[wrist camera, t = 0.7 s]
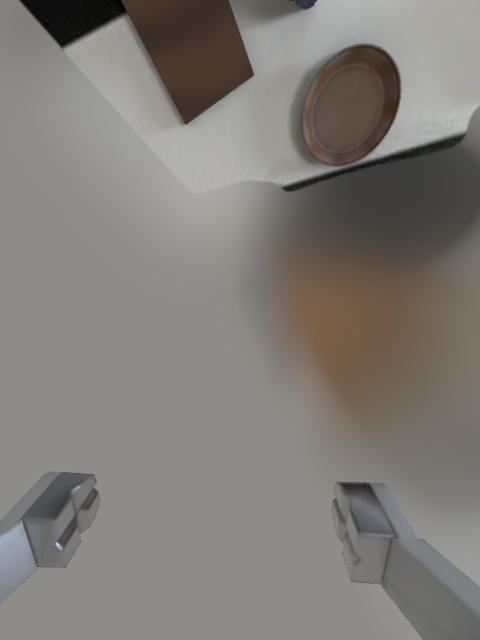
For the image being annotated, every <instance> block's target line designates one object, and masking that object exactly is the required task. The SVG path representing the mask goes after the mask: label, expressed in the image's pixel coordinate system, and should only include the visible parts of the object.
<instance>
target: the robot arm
mask: <svg viewBox="0 0 480 640" xmlns="http://www.w3.org/2000/svg"><path fill="white" fill-rule="evenodd" d="M95 484H96V478H95V475H94V474H83V473H68V472H48V473H46V474H44V475H43V476H42V477H41V478H40V479H39V480H38V481H37V482H36V483H35V485H34V486H33V487H32V488H31V489H30V490H29V491H28V492H27V493H26V494H25V495H24V496H23V497H22V498H21V500H20V501H19V502H18V503H17V504H16V505H15V506H14V507H13V508H12V509H11V510H10V511H9V513H7V515H6V516H5V517H4V518H3V519H2V520H1V521H0V603H2V602H3V601H4V600H5V599H6V598H7V597H8V596H9V595H10V594H11V593H12V592H13V591H15V589H16V588H18V587H19V586H20V585H21V584H22V583H23V582H24V581H25V580H26V579H28V578H29V577H30V576H31V575H32V574H33V573H34V572H35V571H36V570H37V569H38V568H37V567H65V568H66V567H67V565H68V563H69V562H70V560H71V558H72V557H73V555H74V553H75V551H76V550H77V548H78V546H79V545H80V543H81V533H82V532H84V531H85V530H86V529H87V528H89V527H90V526H91V524H92V522H93V520H94V519H95V517H96V514H97V511H98V508H99V502H100V497H99V492H98V491H97V490H96V489H94V485H95ZM334 492H335V495H336V498H335V499H334V500H333V501H332V516H333V523H334V527H335V531H336V535H337V537H338V538H339V539H340V541H341V542H342V543H343V544H344V545H343V552H342V555H343V558H344V561H345V565H346V568H347V571H348V574H349V578H350V581H351V582H358V583H370V584H382V587H383V589H384V590H385V591H386V592H387V594H388V595H389V596H390V598H391V599H392V600H393V602H394V603H395V604H396V605H397V607H398V608H399V609H400V611H401V612H402V613H403V614H404V616H405V617H406V618H407V620H408V621H409V622H410V623H411V625H412V626H413V627H414V629H415V630H416V631H417V632H418V634H419V635H420V636H421V637H422V639H423V640H480V587H479V586H478V585H477V584H476V583H475V582H473V581H472V580H471V579H470V578H469V577H467V576H466V575H465V574H464V573H463V572H461V571H460V570H459V569H458V568H457V567H456V566H454V565H453V564H452V563H451V562H450V561H448V560H447V559H446V558H445V557H444V556H443V555H441V554H440V553H439V552H438V551H437V550H436V549H434V548H433V547H432V546H431V545H430V544H428V543H427V542H426V541H425V540H424V539H418V538H417V536H416V535H415V533H414V531H413V530H412V528H411V526H410V525H409V523H408V521H407V519H406V518H405V516H404V514H403V512H402V511H401V509H400V507H399V506H398V504H397V502H396V501H395V499H394V497H393V495H392V494H391V492H390V490H389V489H388V487H387V486H386V485H385V484H384V483H366V482H336V483H335V487H334Z"/></svg>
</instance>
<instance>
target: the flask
mask: <svg viewBox="0 0 480 640" xmlns="http://www.w3.org/2000/svg"><path fill="white" fill-rule="evenodd" d="M289 1H295V2H296V3H297V5H299V6H300V7H301V8H304V9H305V10H306V9H309V8H311V7H312V6H314V3H315V2H316V1H317V0H289Z"/></svg>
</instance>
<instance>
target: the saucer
mask: <svg viewBox="0 0 480 640" xmlns="http://www.w3.org/2000/svg"><path fill="white" fill-rule="evenodd" d="M400 100H401V77H400V73H399V69H398V67H397V64H396V62H395V61H394V59H393V58H392V56H391V55H390V54H389V53H388V52H387V51H386V50H384V49H383V48H381V47H379V46H376V45H373V44H357V45H352V46H350V47H347V48H345V49H343V50H341V51H340V52H338V53H337V54H335V55H334V56H333V57H332V58H330V59H329V60H328V61H327V62H326V63H325V64H324V66H323V67H322V68H321V69H320V70H319V72H318V73H317V75H316V76H315V78H314V80H313V81H312V83H311V85H310V87H309V90H308V92H307V95H306V98H305V101H304V105H303V110H302V133H303V138H304V141H305V144H306V146H307V148H308V150H309V152H310V153H311V154H312V155H313V157H314V158H316V159H317V160H318V161H320V162H321V163H323V164H325V165H328V166H334V167H341V166H347V165H351V164H354V163H356V162H358V161H360V160H362V159H363V158H365V157H366V156H368V155H369V154H370V153H372V152H373V151H374V150H375V149H376V148H377V147H378V146H379V144H380V143H381V142H382V141H383V139H384V138H385V137H386V135H387V134H388V132H389V130H390V129H391V127H392V125H393V123H394V120H395V118H396V115H397V112H398V109H399V105H400Z"/></svg>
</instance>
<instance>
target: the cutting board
mask: <svg viewBox="0 0 480 640" xmlns="http://www.w3.org/2000/svg"><path fill="white" fill-rule="evenodd" d="M121 1H122V3H123V5H124V7H125V9H126V11H127V12H128V14H129V16H130V18H131V20H132V22H133V24H134V26H135V28H136V30H137V32H138V34H139V36H140V37H141V39H142V41H143V43H144V45H145V47H146V49H147V51H148V53H149V55H150V57H151V59H152V61H153V62H154V64H155V66H156V68H157V70H158V72H159V74H160V76H161V78H162V80H163V82H164V84H165V86H166V88H167V89H168V91H169V93H170V95H171V97H172V99H173V101H174V103H175V105H176V107H177V109H178V111H179V113H180V114H181V116H182V118H183V120H184V122H185V124H188V123H190V122H191V121H192V120H194V119H195V118H197V117H198V116H199V115H201V114H202V113H203V112H205V111H206V110H208V109H209V108H210V107H212V106H213V105H214V104H216V103H217V102H219V101H220V100H221V99H223V98H224V97H225V96H227V95H228V94H230V93H231V92H232V91H234V90H235V89H236V88H238V87H239V86H241V85H242V84H243V83H245V82H246V81H248V80H249V79H250V78H252V77H253V76H254V73H253V70H252V67H251V64H250V61H249V59H248V56H247V53H246V50H245V47H244V44H243V41H242V38H241V36H240V33H239V30H238V27H237V24H236V21H235V18H234V15H233V12H232V10H231V7H230V4H229V1H228V0H121Z"/></svg>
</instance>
